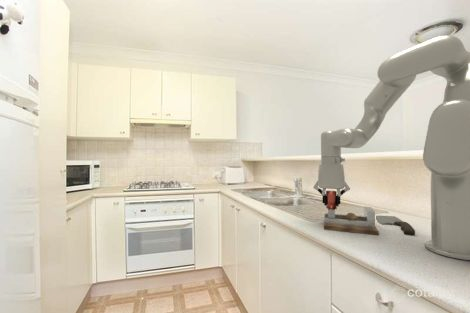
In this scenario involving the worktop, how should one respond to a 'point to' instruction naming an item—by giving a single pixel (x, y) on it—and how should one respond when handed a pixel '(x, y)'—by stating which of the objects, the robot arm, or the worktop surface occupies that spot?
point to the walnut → (351, 216)
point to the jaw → (331, 203)
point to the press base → (352, 229)
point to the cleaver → (396, 223)
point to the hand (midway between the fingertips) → (331, 205)
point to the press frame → (361, 221)
